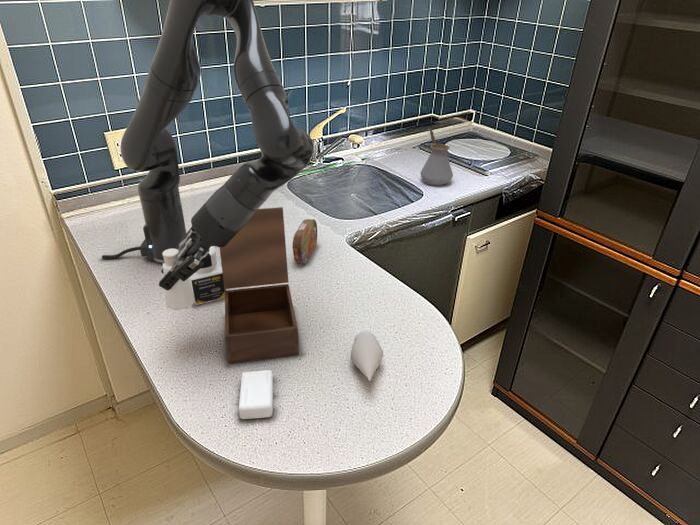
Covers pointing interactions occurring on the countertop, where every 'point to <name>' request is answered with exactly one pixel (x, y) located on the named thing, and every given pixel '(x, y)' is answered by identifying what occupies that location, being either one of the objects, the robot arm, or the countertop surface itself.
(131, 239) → the countertop surface
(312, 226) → the tin
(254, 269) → the lid
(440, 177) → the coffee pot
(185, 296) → the pepper shaker
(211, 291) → the medicine bottle
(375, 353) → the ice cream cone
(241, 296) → the box
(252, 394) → the soap
